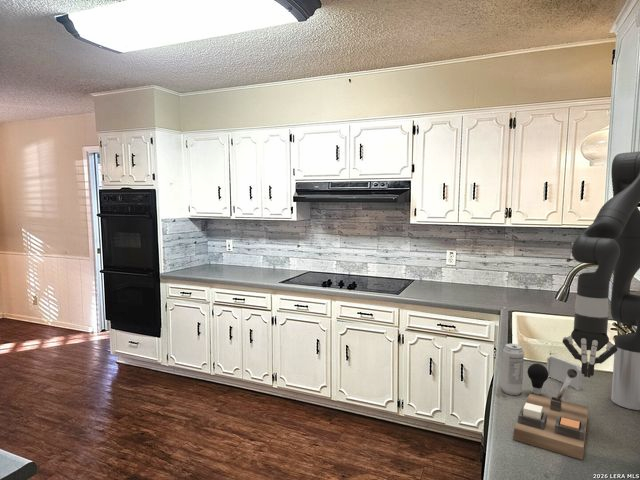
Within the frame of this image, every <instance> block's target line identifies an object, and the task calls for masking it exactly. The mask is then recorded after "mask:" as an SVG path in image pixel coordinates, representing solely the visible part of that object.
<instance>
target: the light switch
mask: <svg viewBox="0 0 640 480" xmlns="http://www.w3.org/2000/svg"><path fill="white" fill-rule="evenodd" d="M546 359H547V360H546V369H547V371H548V376H549V377H550V376H551V377H553V378H555V379H557V380H559V381H561V382H560V383H562V382H563V383H562V384H564V382H565V380H566V378H567V376H568V374H567V371H568V370H569V369H574V370H576V371H577V376H576V377H575V378H572V380H571V382H570V384H569V385H570V386H569V387H571V386H572V387H571V388H573V387H574V388H575V389H574V390H576V389H577V390H576V391H581V389H582V386H583V374H582V373H581V368H582V366H581V365H580V364H577V363H576V362H572V361H570V360H568V359H565V358H561V357H558V356H556V355H550V356H548V358H546ZM555 379H554V380H555ZM557 380H556V381H557ZM559 381H558V382H559Z"/></svg>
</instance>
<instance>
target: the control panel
mask: <svg viewBox="0 0 640 480" xmlns="http://www.w3.org/2000/svg"><path fill="white" fill-rule="evenodd" d="M556 397H557V396H553V395H552V396H551V397H546V396H543V395H540V394H539V395H535V394H534V393H529V394H528V396H527V399H526V401H525V403H524V405H523V406H522V407H521V409H520V410H519V413H518V415H517V416H518V417H517V420H516V422H515V425H514V427H513V440H514V441H517V442H520V443H524V444H527V445H531V446H535V447H538V448H541V449H545V450H547V451H552V452H554V453H558V454H561V455H565V456H568V457H571V458H575V459H578V460H584V452H585V444H586V436H587V435H586V434H587V426H588V420H589V419H588V418H589V406H586V405H582V404H578V403H574V402H568V401H564V400H563V398H562V399H561V400H560V401H559V400H557V399H556ZM526 403H530V404H534V405H538V406H542V407H543V412H542V417H541V420H538V419H535V418H531V417H527V416H523V408H524V406H525V404H526ZM562 417H563V418H567V419H571V420H575V421H579V422H580V428H579V430H577V429H573V428H569V427H565V426H561V425H560V422H561V418H562Z"/></svg>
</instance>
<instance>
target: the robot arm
mask: <svg viewBox="0 0 640 480" xmlns="http://www.w3.org/2000/svg"><path fill="white" fill-rule="evenodd" d="M610 169H611V173H610V174H611V185H612V194H613V195H612V197H611V198H609V200H607V201H606V202H605V203H604V204H603V205H602V207H601V208H600V209H599V211H598V213H597V215H596V217H595V218H594V219H593V223H591V224H590V225H589V226H588V227H586V229H585V230H583V231H582V232H581V233H580V234H579V235H578V236H577V238H575V240H574V242H573V243H572V246H571V255H572V257H573V259H574V260H575V261H576V262H578V263H581V264H589V265H598V266H597V268H596V270H595V271H593V272H582V273H580V274H579V275H578V276H577V285H576V286H577V287H576V297H575V298H576V299H575V303H574V317H573V318H574V320H573V330H572V331H571V333H570V335H567V337H566V336H565V337H563V338H562V343H563V344H564V346H565V347H566V349H567V350H568V351H569V353H570V355H572V357H573V358H574V360H578V361H579V362H580V363H581V373H582V375H583V377H585V378H588V379H589V378H590V379H591V377H593V376H594V375H595V374H594V373H595V365H596V364H600V365H601V364H603V363H604V362H605V361H607V360H608V359H610V357H612V356H613V369H612V370H613V371H612V382H611V394H610V395H611V401H612V402H613V403H614V404H615V405H618V406H619V407H623V408H626V409H629V410H634V411H640V295H638V294H634V293H633V294H632V293H631V284H632V280H633V278H634V277H635V275H636V273H638V271H639V270H640V209H639V207H638V206H639V204H640V151H632V152H630V151H629V152H621V153H618V154H616V155H615V156H614V157H613V159H612V162H611V168H610ZM612 275H613V279H612ZM611 279H612V288H611V295H609V293H610V283H611ZM610 296H611V297H610ZM609 297H610V304H609ZM609 310H610V311H609ZM609 314H610V315H611V318H612V320H613V321H615V322H617V323H620V324H625V325H629V326H633V327H636V330H635V332H634V333H626V334H625V333H623V334H619V335H617V336H615V340H614V344H613V343H612V342H611V341H610V338H609V336H608V328H609V326H608V325H609ZM574 342H575V344H576V345H577V347H578V348H579V349H580V353H579V351H578V350H577V348H576V347H575V346H574V345H573V344H574ZM605 346H606V347H605ZM604 347H605V351H604V352H603V353H601V354H600V355H599V356H597V357H596V355H597V352H599V351H601V350H602V349H603V348H604ZM588 351H590V353H589V361H588Z"/></svg>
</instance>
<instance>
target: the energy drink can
mask: <svg viewBox="0 0 640 480" xmlns="http://www.w3.org/2000/svg"><path fill="white" fill-rule="evenodd" d="M524 356H525V352H524V350H523V346H521V345H520V344H518V343H517V344H516V343H506V344H505V346H504V348H503V349H502V366H501V367H502V368H501V369H502V370H501V371H502V372H501V390H502V391H503V393H505V394H508V395H511V396H519V395H520V394H521V393H522V391H523V382H524V381H523V379H524V378H523V377H524V361H525V360H524V359H525V357H524Z"/></svg>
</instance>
